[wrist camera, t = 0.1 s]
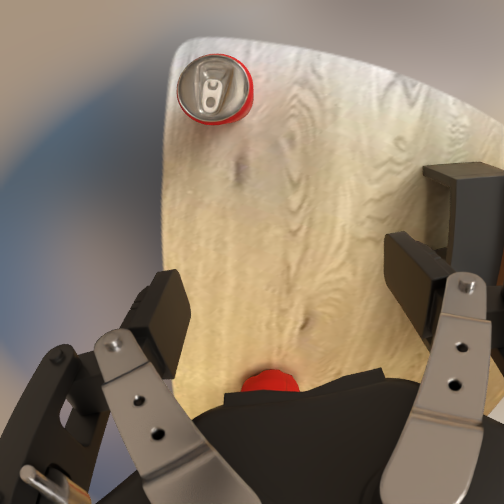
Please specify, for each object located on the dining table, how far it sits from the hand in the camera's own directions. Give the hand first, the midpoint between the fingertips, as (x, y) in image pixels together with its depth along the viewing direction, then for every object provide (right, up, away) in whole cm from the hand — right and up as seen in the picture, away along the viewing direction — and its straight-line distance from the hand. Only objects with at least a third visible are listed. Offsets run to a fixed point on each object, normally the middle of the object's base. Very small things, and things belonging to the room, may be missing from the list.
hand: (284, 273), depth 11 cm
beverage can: (-4, +16, +17) cm, 24 cm away
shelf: (+26, +1, +24) cm, 35 cm away
